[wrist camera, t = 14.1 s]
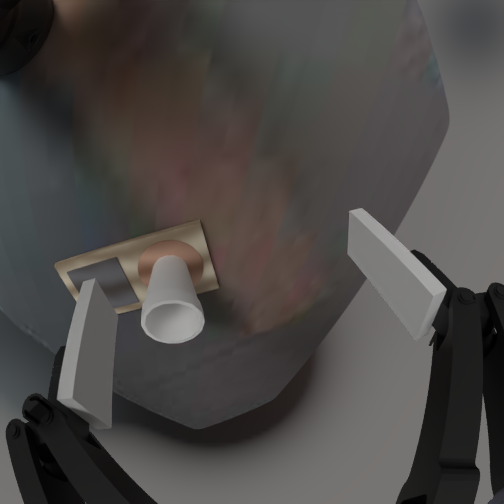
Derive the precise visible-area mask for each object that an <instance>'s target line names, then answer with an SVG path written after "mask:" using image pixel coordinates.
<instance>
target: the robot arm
mask: <svg viewBox="0 0 504 504" xmlns="http://www.w3.org/2000/svg"><path fill="white" fill-rule="evenodd" d="M52 20H53V3H52V0H0V75H5V74H9V73H12V72H14V71H16V70H18V69H20V68H21V67H23V66H24V65H25V64H26V63H28V62H29V61H30V60H31V59H32V58H33V57H34V56H35V54H36V53H37V52H38V51H39V49H40V48H41V46H42V45H43V43H44V41H45V40H46V38H47V35H48V33H49V31H50V28H51V25H52ZM347 254H348V255H349V256H350V258H351V259H352V260H353V261H354V262H355V264H356V265H357V266H358V267H359V268H360V270H361V271H362V272H363V273H364V275H365V276H366V277H367V278H368V279H369V281H370V282H371V283H372V285H373V286H374V287H375V288H376V289H377V291H378V292H379V293H380V295H381V296H382V297H383V299H384V300H385V301H386V302H387V304H388V305H389V306H390V308H391V309H392V310H393V312H394V313H395V314H396V316H397V317H398V318H399V319H400V321H401V322H402V324H403V325H404V326H405V328H406V329H407V330H408V332H409V333H410V334H411V336H412V337H413V339H414V340H415V341H416V340H418V339H420V338H422V337H423V336H425V335H427V334H428V333H429V330H430V328H431V326H433V327H434V328H435V330H436V331H435V333H434V335H433V337H432V339H431V341H430V344H429V346H431V345H432V343H433V341H434V345H433V356H432V366H431V375H430V383H429V390H428V396H427V403H426V408H425V414H424V419H423V424H422V429H421V434H420V438H419V442H418V446H417V450H416V454H415V458H414V461H413V465H412V468H411V472H410V475H409V477H408V479H407V481H406V483H405V484H404V485H403V487H402V489H401V492H400V494H399V496H398V499H397V502H396V504H474V501H475V497H476V493H477V489H478V485H479V481H480V471H479V469H478V468H477V467H476V465H475V458H476V453H477V445H478V439H479V431H480V422H481V411H482V395H483V397H484V403H485V410H486V418H487V426H488V436H489V450H490V473H491V485H492V490H493V495H494V497H493V499H492V500H490V501H489V502H488V504H504V285H502V284H500V283H492V284H491V285H490V286H489V287H488V290H487V292H484V293H477V294H475V293H474V292H473V291H471V290H470V289H467V288H461V287H460V288H457V287H456V286H455V285H454V284H453V283H452V282H451V281H450V280H449V279H448V278H447V277H446V276H445V275H444V274H443V273H442V272H441V271H440V270H439V269H438V268H437V267H436V266H435V265H434V264H433V263H431V261H430V260H429V259H428V258H427V257H426V256H425V255H424V254H422V253H420V252H418V251H416V250H412V251H409V250H408V249H407V248H406V247H405V246H403V245H402V244H401V243H400V242H399V241H398V240H397V239H396V238H395V237H394V236H393V235H392V234H391V233H390V232H388V231H387V230H386V229H385V228H384V227H383V226H382V225H381V224H380V223H378V222H377V221H376V220H375V219H374V218H373V217H372V216H371V215H369V214H368V213H367V212H366V211H365V210H364V209H362V208H359V209H355V210H351V211H349V234H348V252H347ZM117 321H118V315H117V313H116V312H115V310H114V308H113V307H112V305H111V304H110V302H109V300H108V299H107V297H106V295H105V294H104V292H103V290H102V289H101V287H100V285H99V283H98V282H97V280H96V278H94V279H90V280H87V281H83V283H82V287H81V290H80V293H79V297H78V300H77V304H76V307H75V311H74V315H73V319H72V323H71V327H70V331H69V335H68V340H67V344H66V346H62V347H60V349H59V351H58V353H57V354H56V356H55V361H54V368H53V371H52V377H51V381H50V387H49V393H48V400H47V399H45V398H44V397H43V396H42V395H41V394H37V393H35V394H31V395H30V396H28V397H27V399H26V400H25V402H24V404H23V408H22V414H23V417H24V418H25V419H26V420H28V421H29V422H27V423H24V422H22V421H21V420H19V419H13V420H11V421H10V422H9V424H8V425H7V428H6V440H7V445H8V449H9V454H10V458H11V462H12V466H13V470H14V473H15V477H16V480H17V483H18V486H19V490H20V493H21V495H22V499H23V501H24V504H85V502H86V504H157V502H155V501H154V500H153V499H152V498H151V497H150V496H149V495H148V494H147V493H146V492H145V491H143V489H142V488H141V487H139V486H138V485H137V484H136V483H135V481H134V480H132V478H131V477H130V476H129V475H128V474H127V473H126V472H125V471H124V470H123V469H122V468H121V467H120V466H119V465H118V463H117V462H116V461H115V460H114V459H113V458H112V457H111V455H110V454H109V453H108V452H107V451H106V450H105V449H104V447H103V446H102V445H101V444H100V442H99V441H98V440H97V439H96V438H95V436H94V435H93V434H92V433H91V432H90V431H89V424H90V425H92V426H93V427H94V428H96V429H108V428H111V425H112V424H111V422H112V421H111V419H112V417H111V416H112V381H113V364H114V351H115V340H116V330H117ZM494 328H495V329H496V331H497V333H496V332H495V329H494ZM84 501H85V502H84Z"/></svg>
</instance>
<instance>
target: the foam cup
mask: <svg viewBox="0 0 504 504" xmlns="http://www.w3.org/2000/svg"><path fill="white" fill-rule="evenodd" d="M204 322H205V320H204V314H203V309H202V306H201V303H200V300H198V298H197V295H196V292H195V289H194V286H193V283H192V280H191V277H190V274H189V271H188V268H187V265H186V263H185V262H184V261H183V260H182V259H181V258H179V257H177V256H174V255H171V256H164V257H162V258H159V259H158V260H157V261H156V263H155V264H154V266H153V270H152V274H151V277H150V281H149V285H148V289H147V293H146V297H145V302H144V303H143V305H142V315H141V326H142V328H143V329H144V331H145V333H146V334H147V335H148V336H150V337H151V338H153V339H154V340H156V341H160V342H164V343H168V344H169V343H182V342H185V341H188V340H190V339H193V338H194V337H196V336H197V335H198V334H199V333H200V332H201V331H202V329H203V325H204Z"/></svg>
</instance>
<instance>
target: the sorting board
mask: <svg viewBox="0 0 504 504" xmlns="http://www.w3.org/2000/svg"><path fill="white" fill-rule="evenodd" d="M171 255H174V256H177V257H179V258H181V259H182V260H183V261H184V262H185V263H186V265H187V268H188V271H189V274H190V277H191V280H192V283H193V286H194V289H195V292H196V294H199V293H203V292H207V291H210V290H214V289H218V288H219V285H218V282H217V278H216V275H215V272H214V268H213V265H212V261H211V258H210V255H209V251H208V248H207V244H206V241H205V237H204V233H203V230H202V226H201V223H200V220H196V221H192V222H189V223H185V224H181V225H178V226H174V227H171V228H167V229H163V230H160V231H156V232H153V233H149V234H146V235H143V236H139V237H136V238H132V239H129V240H126V241H122V242H119V243H116V244H112V245H109V246H106V247H103V248H99V249H96V250H93V251H90V252H87V253H84V254H81V255H77V256H74V257H71V258H68V259H65V260H62V261H59V262H56V263H55V265H54V266H55V268H56V270H57V271H58V273H59V275H60V276H61V278H62V280H63V281H64V283H65V285H66V286H67V288H68V289H69V291H70V292H71V294H72V296H73V297H74V299H75V300H76V302H77V300H78V297H79V293H80V290H81V287H82V283H83V281H87V280H90V279H94V278H96V280H97V282H98V283H99V285H100V287H101V289H102V290H103V292H104V294H105V295H106V297H107V299H108V300H109V302H110V304H111V305H112V307H113V308H114V310H115V312H116V313H117V314H119V313H124V312H128V311H132V310H136V309H140V308H142V305H143V303H144V302H145V297H146V293H147V289H148V285H149V281H150V277H151V274H152V270H153V266H154V264H155V263H156V261H157V260H158V259H159V258H162V257H164V256H171Z"/></svg>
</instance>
